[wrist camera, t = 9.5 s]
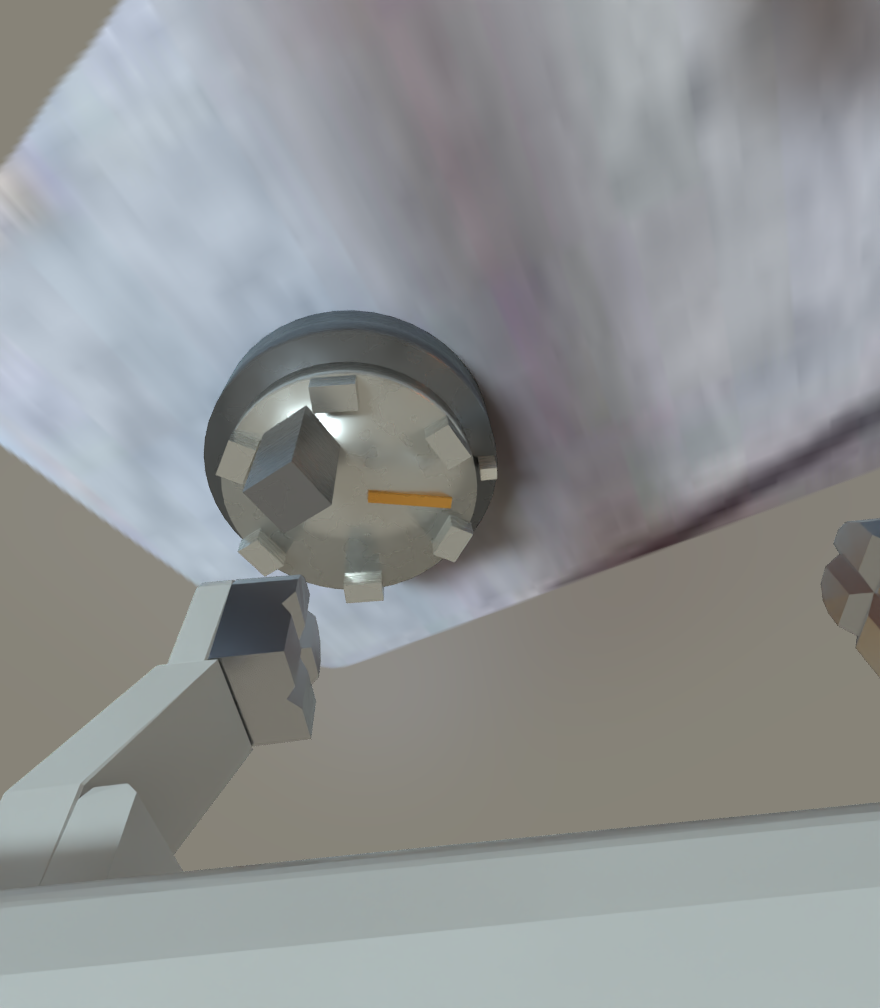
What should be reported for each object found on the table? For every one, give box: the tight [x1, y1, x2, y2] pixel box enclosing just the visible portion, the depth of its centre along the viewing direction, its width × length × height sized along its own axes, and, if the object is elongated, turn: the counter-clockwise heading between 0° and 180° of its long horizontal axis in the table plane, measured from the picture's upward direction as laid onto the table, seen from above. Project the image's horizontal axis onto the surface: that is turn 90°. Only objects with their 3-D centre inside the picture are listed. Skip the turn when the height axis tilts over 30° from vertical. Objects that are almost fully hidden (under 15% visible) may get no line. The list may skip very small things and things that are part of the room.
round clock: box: [216, 362, 477, 603], centre depth 37 cm, size 15×15×8 cm
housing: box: [204, 311, 497, 559], centre depth 41 cm, size 18×18×6 cm
